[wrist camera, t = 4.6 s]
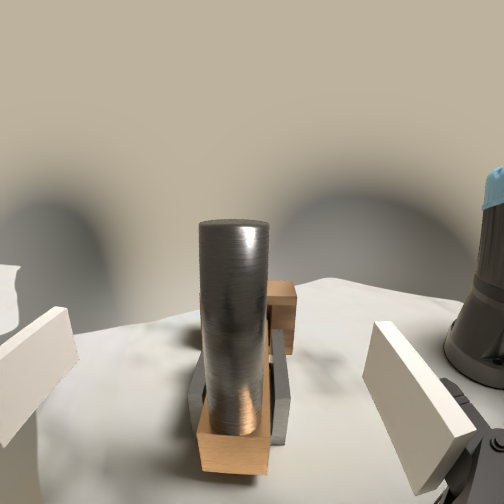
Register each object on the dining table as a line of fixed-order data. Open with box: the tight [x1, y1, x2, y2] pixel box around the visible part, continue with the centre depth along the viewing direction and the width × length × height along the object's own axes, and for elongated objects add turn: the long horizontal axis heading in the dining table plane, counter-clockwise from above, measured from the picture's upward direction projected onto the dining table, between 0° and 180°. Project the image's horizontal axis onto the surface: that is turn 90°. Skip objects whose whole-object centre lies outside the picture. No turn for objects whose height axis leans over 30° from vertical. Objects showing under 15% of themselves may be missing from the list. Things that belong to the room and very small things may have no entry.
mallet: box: [196, 219, 270, 475], centre depth 20 cm, size 4×15×15 cm, turn 178°
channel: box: [187, 329, 291, 445], centre depth 23 cm, size 7×10×5 cm
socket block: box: [200, 280, 297, 354], centre depth 34 cm, size 10×5×7 cm, turn 88°
